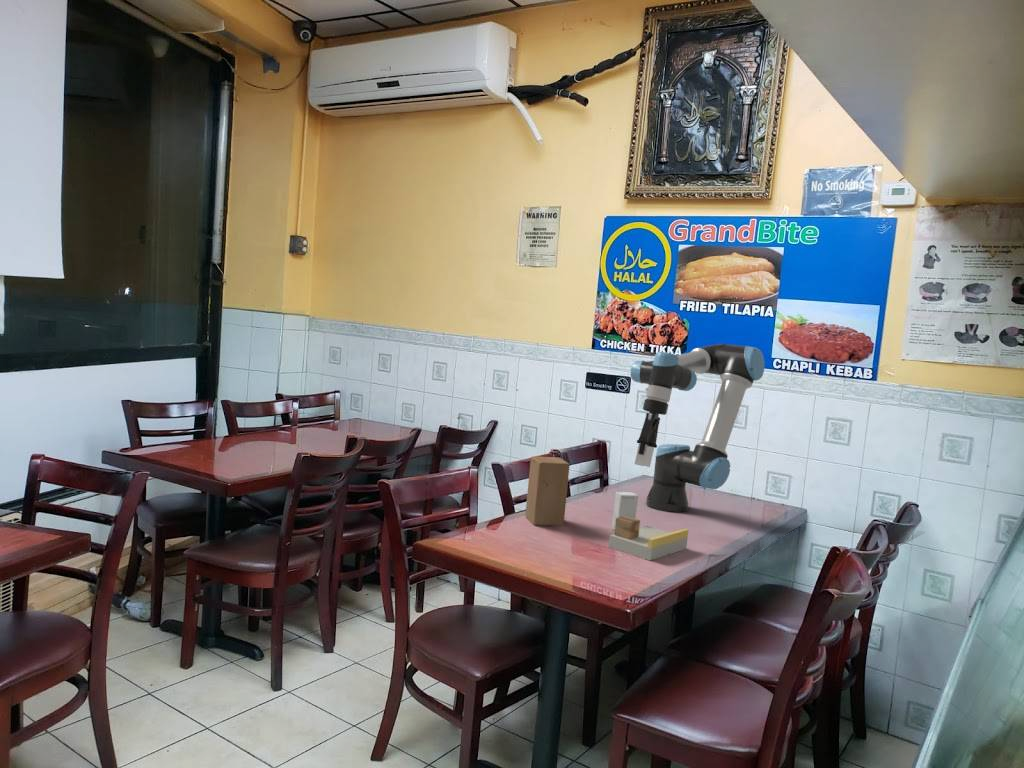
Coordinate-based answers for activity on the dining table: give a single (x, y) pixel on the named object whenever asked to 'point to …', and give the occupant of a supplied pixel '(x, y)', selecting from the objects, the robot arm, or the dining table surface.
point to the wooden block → (547, 491)
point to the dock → (651, 543)
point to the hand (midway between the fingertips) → (642, 465)
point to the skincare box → (624, 506)
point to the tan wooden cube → (627, 527)
